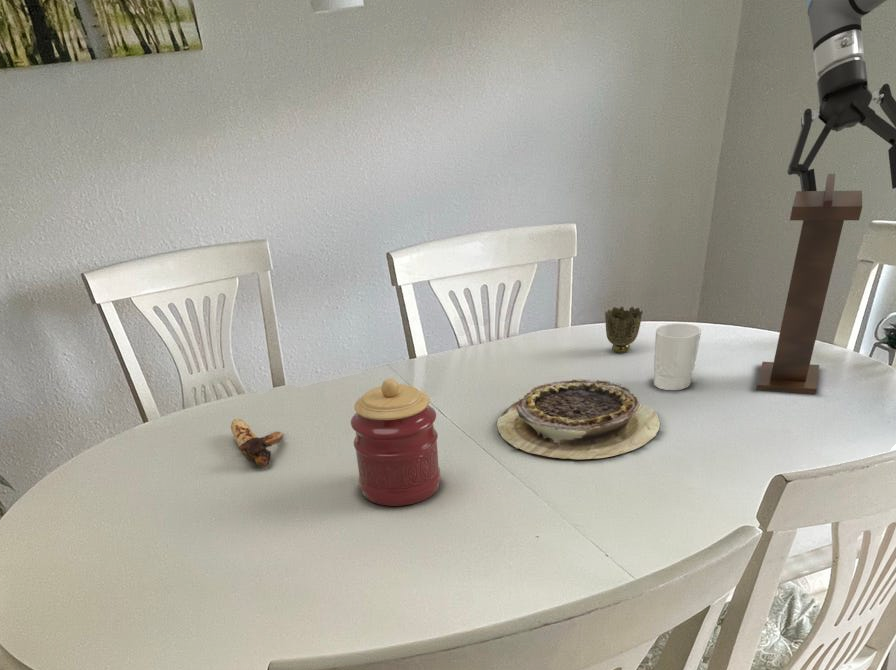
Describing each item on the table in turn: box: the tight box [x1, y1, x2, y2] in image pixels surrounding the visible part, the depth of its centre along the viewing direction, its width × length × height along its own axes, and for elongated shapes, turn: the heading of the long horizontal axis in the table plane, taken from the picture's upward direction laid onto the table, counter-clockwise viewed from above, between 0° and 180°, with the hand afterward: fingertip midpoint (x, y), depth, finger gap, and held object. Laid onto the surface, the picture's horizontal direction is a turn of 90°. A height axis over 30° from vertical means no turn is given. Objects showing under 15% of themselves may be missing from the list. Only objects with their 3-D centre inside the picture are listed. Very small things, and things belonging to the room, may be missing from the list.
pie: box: [496, 378, 661, 460], centre depth 136 cm, size 28×27×5 cm
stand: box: [755, 190, 863, 395], centre depth 136 cm, size 10×12×30 cm
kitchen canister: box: [350, 378, 441, 507], centre depth 119 cm, size 13×13×18 cm
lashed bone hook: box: [230, 418, 283, 468], centre depth 139 cm, size 9×5×18 cm
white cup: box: [652, 323, 702, 391], centre depth 145 cm, size 8×8×10 cm
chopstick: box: [823, 173, 836, 209], centre depth 128 cm, size 1×22×1 cm, turn 156°
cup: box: [604, 306, 644, 354], centre depth 161 cm, size 8×7×8 cm
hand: (855, 198), depth 140 cm, fingers open, 13 cm apart
